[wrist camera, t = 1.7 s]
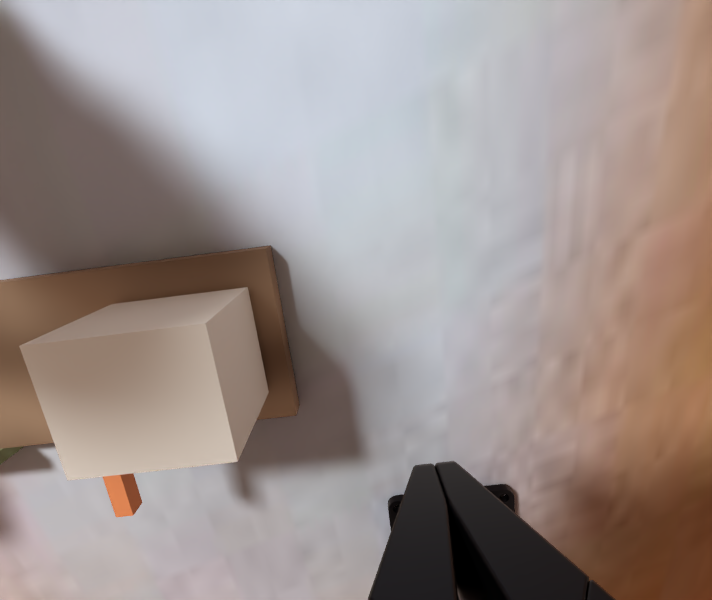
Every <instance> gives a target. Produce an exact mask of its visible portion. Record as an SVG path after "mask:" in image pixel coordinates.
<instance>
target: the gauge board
mask: <svg viewBox="0 0 712 600" xmlns="http://www.w3.org/2000/svg"><path fill="white" fill-rule="evenodd" d="M244 287H248V291H249V296H250V301H251V306H252V311H253V316H254V321H255V326H256V331H257V336H258V341H259V346H260V351H261V356H262V361H263V366H264V371H265V376H266V381H267V386H268V391H269V393H268V395H267V397H266V400H265V402H264V404H263V406H262V409H261V411H260V413H259V415H258V418H257V420H260V419H269V418H278V417H287V416H296V415H297V412H298V408H299V400H298V394H297V389H296V383H295V377H294V372H293V366H292V361H291V355H290V350H289V344H288V339H287V333H286V328H285V322H284V317H283V311H282V306H281V300H280V294H279V289H278V283H277V278H276V272H275V267H274V261H273V256H272V250H271V246H263V247H256V248H248V249H240V250H232V251H224V252H217V253H209V254H201V255H193V256H185V257H178V258H170V259H162V260H154V261H146V262H139V263H131V264H123V265H115V266H107V267H100V268H92V269H84V270H76V271H68V272H61V273H53V274H45V275H37V276H29V277H22V278H14V279H6V280H0V464H2V463H3V462H4V461H6V460H7V459H8V458H10V457H11V456H12V455H14V454H15V453H16V452H17V451H19V450H20V449H21V448H23V446H30V445H39V444H48V443H54V441H53V439H52V436H51V433H50V430H49V427H48V425H47V422H46V419H45V416H44V414H43V411H42V408H41V405H40V402H39V400H38V397H37V394H36V391H35V389H34V386H33V383H32V380H31V377H30V375H29V372H28V369H27V366H26V364H25V361H24V358H23V355H22V353H21V350H20V347H19V346H20V345H22V344H25V343H27V342H29V341H31V340H34V339H36V338H38V337H40V336H42V335H45V334H47V333H49V332H51V331H53V330H56V329H58V328H60V327H62V326H64V325H67V324H69V323H71V322H73V321H75V320H78V319H80V318H82V317H84V316H87V315H89V314H91V313H93V312H95V311H98V310H100V309H102V308H104V307H106V306H109V305H111V304H116V303H124V302H132V301H140V300H148V299H156V298H164V297H172V296H180V295H188V294H196V293H204V292H212V291H220V290H228V289H236V288H244Z"/></svg>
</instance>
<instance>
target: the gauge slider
mask: <svg viewBox="0 0 712 600" xmlns="http://www.w3.org/2000/svg"><path fill="white" fill-rule="evenodd" d="M19 347H20V350H21V353H22V355H23V358H24V361H25V364H26V366H27V369H28V372H29V375H30V377H31V380H32V383H33V386H34V389H35V391H36V394H37V397H38V400H39V402H40V405H41V408H42V411H43V414H44V416H45V419H46V422H47V425H48V427H49V430H50V433H51V436H52V439H53V441H54V444H55V447H56V450H57V452H58V455H59V458H60V461H61V463H62V466H63V469H64V472H65V475H66V477H67V480H77V479H86V478H95V477H103V479H104V482H105V485H106V488H107V491H108V494H109V497H110V500H111V503H112V506H113V509H114V512H115V515H116V517H123V516H132V515H134V514H135V512H136V511H137V509H138V508H139V506H140V505H141V503H142V500H141V497H140V494H139V490H138V487H137V484H136V481H135V478H134V474H133V473H141V472H150V471H159V470H168V469H177V468H187V467H196V466H205V465H214V464H223V463H232V462H238V460H239V458H240V456H241V454H242V451H243V449H244V447H245V445H246V442H247V440H248V438H249V436H250V433H251V431H252V429H253V427H254V424H255V422H256V420H257V418H258V415H259V413H260V411H261V409H262V406H263V404H264V402H265V400H266V397H267V395H268V393H269V391H268V386H267V381H266V376H265V371H264V366H263V361H262V356H261V351H260V346H259V341H258V336H257V331H256V326H255V321H254V316H253V311H252V306H251V301H250V296H249V291H248V287H244V288H236V289H228V290H220V291H212V292H204V293H196V294H188V295H180V296H172V297H164V298H156V299H148V300H140V301H132V302H124V303H116V304H111V305H109V306H106V307H104V308H102V309H100V310H98V311H95V312H93V313H91V314H89V315H87V316H84V317H82V318H80V319H78V320H75V321H73V322H71V323H69V324H67V325H64V326H62V327H60V328H58V329H56V330H53V331H51V332H49V333H47V334H45V335H42V336H40V337H38V338H36V339H34V340H31V341H29V342H27V343H25V344H22V345H20V346H19Z"/></svg>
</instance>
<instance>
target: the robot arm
mask: <svg viewBox="0 0 712 600" xmlns="http://www.w3.org/2000/svg"><path fill="white" fill-rule="evenodd" d="M502 494H506V495H505V496H502V497H501V495H502ZM395 505H400V507H394V506H395ZM388 510H389V518H390V526H391V533H390V536H389V539H388V542H387V545H386V548H385V551H384V554H383V557H382V559H381V562H380V565H379V568H378V571H377V574H376V577H375V580H374V583H373V585H372V588H371V591H370V594H369V597H368V600H616V599H614V598H613V597H612V596H611V595H610V594H609V593H607V592H606V591H605V590H604V589H603V588H602V587H600V586H599V585H598V584H597V583H596V582H595V581H593V580H590V581H589V577H588V576H587V575H586V574H585V573H584V572H583V571H582V570H580V569H579V568H578V567H577V566H576V565H575V564H573V563H572V562H571V561H570V560H569V559H568V558H567V557H565V556H564V555H563V554H562V553H561V552H560V551H558V550H557V549H556V548H555V547H554V546H553V545H551V544H550V543H549V542H548V541H547V540H546V539H544V538H543V537H542V536H541V535H540V534H539V533H538V532H536V531H535V530H534V529H533V528H532V527H531V526H529V525H528V524H527V523H526V522H525V521H524V520H522V519H521V518H520V517H519V516H518V515H517V514H515V508H514V495H513V492H512V490H511V489H510V487H509V486H507V485H503V484H500V485H491V486H483V485H482V484H481V483H480V482H478V481H477V480H476V479H475V478H474V477H473V476H471V475H470V474H469V473H468V472H467V471H466V470H464V469H463V468H462V467H461V466H460V465H459V464H457V463H456V462H454V461H450V462H441V463H436V465H435V466H434V465H433V464H422V465H415V466H414V467H413V470H412V473H411V476H410V478H409V481H408V484H407V487H406V490H405V493H404V495H396V496H393V497H391V498H390V499H389V501H388Z"/></svg>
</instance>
